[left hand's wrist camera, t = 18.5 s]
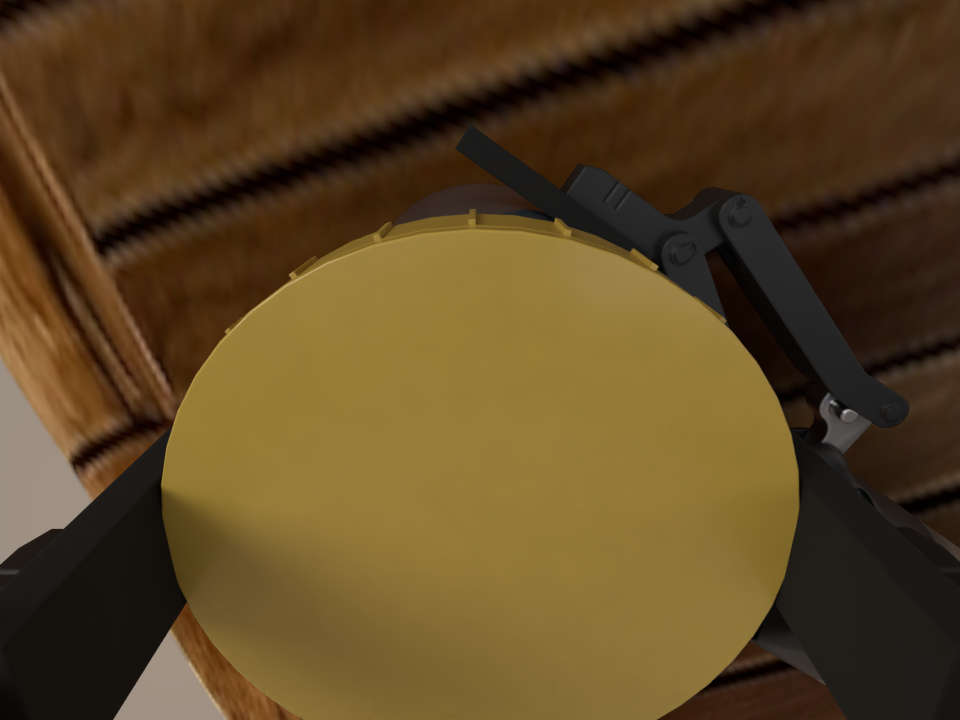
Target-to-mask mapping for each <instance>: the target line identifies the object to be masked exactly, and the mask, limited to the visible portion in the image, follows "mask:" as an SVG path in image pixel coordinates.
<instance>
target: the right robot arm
mask: <svg viewBox="0 0 960 720" xmlns="http://www.w3.org/2000/svg"><path fill="white" fill-rule="evenodd" d="M455 149H456V150H458V151H459V152H461V153H462V154H463V155H465V156H466V157H468V158H469V159H470V160H472V161H473V162H475V163H476V164H478V165H479V166H480V167H482V168H483V169H485V170H486V171H487V172H489V173H490V174H492V175H493V176H494V177H496V178H497V179H499V180H500V181H501V182H503V183H504V184H506V185H507V186H508V187H510V188H511V189H513V190H514V191H515V192H517V193H518V194H520V195H521V196H522V197H524V198H525V199H527V200H528V201H529V202H531V203H532V204H534V205H535V206H536V207H538V208H539V209H541V210H542V211H543V212H545V213H546V214H548V215H549V216H551V217H552V218H553V219H555V218H558V219H561V220H562V221H563V222H564V223H565V224H566V225H567V226H568V227H571V228H574V229H577V230H580V231H584V232H587V233H590V234H593V235H596V236H598V237H600V238H602V239H604V240H606V241H608V242H610V243H613V244H615V245H617V246H619V247H621V248H623V249H625V250H627V251H629V252H631V251H632V249H633V248H634V249H635V250H637V251H639V252H640V253H641V254H643V255H644V256H645V257H647V258H648V259H649V260H651V261H652V262H653V263H655V264H656V265H657V266H659V267H658V269H657V270H658V271H660V272H661V273H663V274H664V275H666V276H667V277H668V278H670V279H671V280H672V281H674V282H675V283H676V284H677V285H679V286H680V287H681V288H683V289H684V290H685V291H687V292H688V293H689V294H691V295H692V296H693V297H695V296H696V297H697V298H698V299H700V300H701V301H702V302H704V303H705V304H706V305H708V306H709V307H710V308H712V309H713V310H714V311H716V312H717V313H718V314H720V315H721V316H722V317H724V319H725V320H726V317H725V314H724V311H723V308H722V305H721V302H720V299H719V296H718V293H717V290H716V288H715V285H714V282H713V279H712V276H711V273H710V270H709V267H708V264H707V261H706V258H705V254H706V253H708V252H709V251H711V250H712V249H714V248H715V250H716V251H717V253H718V254H719V256H720V257H721V259H722V260H723V261H724V263H725V264H726V266H727V267H728V269H729V270H730V272H731V273H732V275H733V276H734V278H735V279H736V281H737V282H738V284H739V285H740V287H741V288H742V290H743V291H744V293H745V294H746V296H747V297H748V299H749V300H750V302H751V303H752V305H753V306H754V308H755V309H756V311H757V312H758V314H759V315H760V316H761V318H762V319H763V321H764V322H765V324H766V325H767V327H768V328H769V330H770V331H771V333H772V334H773V336H774V337H775V339H776V340H777V342H778V343H779V345H780V346H781V348H782V349H783V351H784V352H785V354H786V355H787V357H788V358H789V359H790V361H791V362H792V363H793V364H794V366H795V367H796V368H797V369H798V370H799V371H800V372H801V373H802V374H804V375H805V376H806V377H808V378H809V379H810V380H812V381H810V382H809V383H807V385H806V386H805V392H806V394H807V396H806V402H807V405H808V406H809V407H810V408H811V409H812V411H813V413H814V422H813V425H812V426H811V427H810V429H809V428H802V427H797V428H791V429H792V430H793V431H794V432H795V433H796V434H797V435H798V436H800V437H801V438H802V439H803V440H804V441H805V442H806V443H807V444H808V445H809V446H810V447H811V448H812V449H813V450H814V451H815V452H816V453H817V454H819V455H820V456H821V457H822V458H823V459H824V460H825V461H826V462H827V463H828V464H829V465H830V466H831V467H832V468H833V469H834V470H835V471H836V472H837V473H839V474H840V475H841V476H842V477H843V478H844V479H845V480H846V481H847V482H848V483H849V484H850V485H851V486H852V487H853V488H854V489H855V490H856V491H858V492H859V493H860V494H861V495H862V496H863V497H864V498H865V499H866V500H867V501H868V502H869V503H870V504H871V505H872V506H873V507H874V508H875V509H876V510H878V511H879V512H880V513H881V514H882V515H883V516H884V517H885V518H886V519H887V520H888V521H889V522H890V523H891V524H892V525H893V526H894V527H910V528H912V529H914V530H915V531H917V532H919V533H921V534H922V535H924V536H926V537H928V538H929V539H931V540H933V541H934V542H936V543H938V544H940V545H941V546H943V547H944V548H945V549H946V550H948V551H949V552H950V553H951V554H952V555H953V556H954V557H955V558H957V559H958V560H959V561H960V548H959V547H957V546H956V545H954V544H953V543H952V542H950V541H949V540H947V539H946V538H944V537H943V536H942V535H940V534H939V533H937V532H936V531H934V530H933V529H931V528H930V527H928V526H927V525H926V524H924V523H922V522H920V521H919V520H918V519H917V518H916V517H914V516H913V515H912V514H910V513H909V512H908V511H906V510H905V509H903V508H902V507H901V506H899V505H898V504H896V503H895V502H893V501H892V500H890V499H889V498H888V497H886V496H885V495H883V494H882V493H880V492H879V491H877V490H876V489H874V488H873V487H872V486H870V485H869V484H867V483H866V482H864V481H863V480H861V479H860V478H859V477H857V476H856V475H854V474H853V473H851V472H850V470H849V467H848V463H847V460H846V458H845V456H844V455H843V454H844V453H845V452H846V451H847V449H848V448H849V447H850V446H851V445H852V444H853V443H854V442H855V441H856V440H857V439H858V438H859V437H860V435H861V434H862V433H863V432H864V431H865V430H866V429H867V428H868V427H869V426H870V425H871V424H872V423H873V424H875V425H877V426H879V427H882V428H891V427H893V426H896V425H898V424H899V423H901V422H902V421H903V420H904V419H905V418H906V416H907V415H908V411H909V404H908V401H907V400H906V399H905V398H904V397H902V396H901V395H899V394H898V393H896V392H894V391H893V390H891V389H890V388H888V387H887V386H885V385H884V384H882V383H880V382H879V381H877V380H876V379H874V378H873V377H871V376H870V375H868V374H866V373H865V371H864V370H863V368H862V366H861V365H860V363H859V362H858V360H857V358H856V357H855V355H854V354H853V352H852V350H851V349H850V347H849V346H848V344H847V342H846V341H845V339H844V338H843V336H842V335H841V333H840V331H839V330H838V328H837V327H836V325H835V323H834V322H833V320H832V319H831V317H830V315H829V314H828V312H827V311H826V309H825V308H824V306H823V304H822V303H821V301H820V300H819V298H818V296H817V295H816V293H815V292H814V290H813V288H812V287H811V285H810V284H809V282H808V280H807V279H806V277H805V276H804V274H803V273H802V271H801V269H800V268H799V266H798V265H797V263H796V261H795V260H794V258H793V257H792V255H791V253H790V252H789V250H788V249H787V247H786V246H785V244H784V242H783V241H782V239H781V238H780V236H779V234H778V233H777V231H776V230H775V228H774V226H773V225H772V223H771V222H770V220H769V218H768V217H767V215H766V214H765V212H764V211H763V209H762V207H761V206H760V204H759V203H758V201H757V200H756V199H755V198H754V197H752V196H749V195H746V194H742V193H738V192H734V191H730V190H725V189H720V188H716V187H710V188H706V189H704V190H702V191H700V192H699V193H698V194H697V195H696V196H695V198H694V200H693V202H691V203H690V204H688V205H687V206H685V207H684V208H682V209H681V210H679V211H677V212H675V213H672V214H662V213H661V212H659V211H658V210H657V209H655V208H654V207H653V206H651V205H650V204H649V203H647V202H646V201H645V200H643V199H642V198H641V197H639V196H638V195H637V194H635V193H634V192H633V191H631V190H630V189H629V188H627V187H626V186H625V185H623V184H622V183H621V182H619V181H618V180H617V179H615V178H614V177H613V176H611V175H610V174H609V173H607V172H606V171H605V170H602V169H599V168H595V167H591V166H587V165H583V164H578V165H577V166H576V168H575V169H574V170H573V172H572V173H571V175H570V176H569V178H568V179H567V180H566V182H565V183H564V185H563V186H562V188H561V189H558V188H557V187H556V186H554V185H553V184H552V183H550V182H549V181H547V180H546V179H545V178H543V177H542V176H541V175H539V174H538V173H536V172H535V171H534V170H532V169H531V168H530V167H528V166H527V165H525V164H524V163H523V162H521V161H520V160H518V159H517V158H516V157H514V156H513V155H512V154H510V153H509V152H507V151H506V150H505V149H503V148H502V147H501V146H499V145H498V144H496V143H495V142H494V141H492V140H491V139H490V138H488V137H487V136H485V135H484V134H483V133H481V132H480V131H479V130H477V129H476V128H474V127H473V126H472V125H470V126H469V127H468V129H467V131H466V132H465V134H464V135H463V137H462V139H461V140H460V142H459V143H458V145H457V147H456V148H455ZM724 324H725V325H726V326H727V327H728V328H729V326H728V323H727V320H726V322H725V323H724ZM729 329H730V328H729ZM750 641H751V642H752V643H754V644H756V645H757V646H759V647H761V648H763V649H764V650H766V651H768V652H769V653H771V654H773V655H775V656H776V657H778V658H780V659H782V660H783V661H785V662H787V663H788V664H790V665H792V666H794V667H795V668H797V669H799V670H800V671H802V672H804V673H806V674H808V675H810V676H812V677H814V678H816V679H817V680H818V681H820V682H822V683H823V684H825V683H824V681H823V680H822V678H821V677H820V675H819V673H818V672H817V670H816V669H815V667H814V665H813V664H812V662H811V661H810V659H809V657H808V656H807V654H806V653H805V651H804V649H803V648H802V646H801V645H800V643H799V641H798V640H797V638H796V637H795V635H794V633H793V632H792V630H791V629H790V627H789V625H788V624H787V622H786V621H785V619H784V617H783V616H782V614H781V613H780V611H779V610H778V608H777V606H776V605H775V603H773V605H772V607H771V609H770V610H769V612H768V614H767V615H766V617H765V618H764V620H763V622H762V623H761V625H760V626H759V628H758V630H757V631H756V633H755V634H754V636H753V637H752V638H751V639H750Z"/></svg>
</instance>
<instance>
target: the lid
mask: <svg viewBox="0 0 960 720" xmlns="http://www.w3.org/2000/svg"><path fill="white" fill-rule="evenodd" d="M658 267H659V266H657V265H656V264H655V263H653V262H652V261H651V260H649V259H648V258H647V257H645V256H644V255H643V254H641V253H640V252H639V251H637V250H635V249H634V248H633V249H632V251H631V252H629V251H627V250H625V249H623V248H621V247H619V246H617V245H615V244H613V243H610V242H608V241H606V240H604V239H602V238H600V237H598V236H596V235H593V234H590V233H587V232H584V231H580V230H577V229H574V228H571V227H568V226H567V225H566V224H565V223H564V222H563V221H562V220H561V219H558V218H555V221H554V222H549V221H544V220H538V219H533V218H527V217H521V216H516V215H494V214H476V209H470V212H469V214H463V215H452V216H441V217H430V218H426V219H422V220H417V221H413V222H409V223H404V224H400V225H396V226H392V223H391V222H388V223H386V224H385V225H384V226H382V227H381V228H380V229H379V230H378V231H377V232H375V233H372V234H370V235H367V236H364V237H362V238H359V239H356V240H354V241H351V242H349V243H348V244H346V245H344V246H342V247H340V248H338V249H337V250H335V251H333V252H331V253H329V254H327V255H326V256H324V257H322V258H320V259H318V258H317V257H316V256H314V257H313V258H311V259H310V260H308V261H307V262H306V263H304V264H303V265H302V266H300V267H299V268H297V269H296V270H295V271H293V272H292V273H291V274H289V276H290V277H291V280H290V281H288V282H287V283H286V284H284V285H283V286H282V287H281V288H279V289H278V290H277V291H275V292H274V293H273V294H271V295H270V296H269V297H268V298H266V299H265V300H264V301H262V302H261V303H260V304H259V305H257V306H256V307H255V308H253V309H252V310H251V311H250V312H248V313H247V314H246V315H244V316H243V317H242V318H240V319H239V320H238V321H237V322H235V323H234V324H233V325H231V326H230V327H229V328H228V329H227V330H226V331H225V333H226V334H227V335H226V336H225V337H224V338H223V339H222V340H221V341H220V342H219V343H218V345H217V346H216V348H215V349H214V350H213V352H212V353H211V355H210V356H209V357H208V359H207V360H206V362H205V363H204V364H203V366H202V367H201V368H200V370H199V371H198V373H197V374H196V375H195V377H194V379H193V381H192V383H191V385H190V387H189V389H188V391H187V393H186V395H185V397H184V399H183V401H182V403H181V405H180V407H179V409H178V412H177V415H176V418H175V421H174V425H173V428H172V431H171V434H170V437H169V441H168V444H167V447H166V454H165V461H164V468H163V476H162V483H161V493H162V516H163V522H164V526H165V531H166V535H167V540H168V544H169V548H170V553H171V557H172V562H173V566H174V570H175V574H176V578H177V581H178V584H179V587H180V589H181V591H182V593H183V595H184V597H185V599H186V601H187V603H188V605H189V607H190V609H191V611H192V613H193V615H194V616H195V618H196V619H197V621H198V622H199V624H200V625H201V627H202V628H203V630H204V631H205V632H206V634H207V635H208V637H209V638H210V640H211V641H212V643H213V644H214V645H215V646H216V647H217V649H218V650H219V651H220V652H221V653H222V654H223V655H224V656H225V658H226V659H227V660H228V661H229V662H230V663H231V664H232V665H233V666H234V668H235V669H236V670H237V671H238V672H240V673H241V674H242V675H243V676H244V677H245V678H246V679H248V680H249V681H250V682H251V683H252V684H253V685H254V686H255V687H257V688H258V689H259V690H260V691H261V692H262V693H264V694H265V695H267V696H268V697H270V698H271V699H272V700H274V701H275V702H277V703H278V704H280V705H281V706H282V707H284V708H285V709H287V710H288V711H290V712H291V713H293V714H295V715H297V716H299V717H300V718H302V719H304V720H657V719H659V718H660V717H662V716H664V715H665V714H667V713H669V712H670V711H672V710H674V709H675V708H677V707H679V706H680V705H682V704H683V703H684V702H686V701H687V700H688V699H690V698H691V697H692V696H694V695H695V694H696V693H698V692H699V691H700V690H702V689H703V688H704V687H706V686H707V685H708V684H709V683H710V682H711V681H712V680H713V679H714V678H716V677H717V676H718V675H719V674H720V673H721V672H722V671H723V670H724V669H725V668H726V667H727V666H728V665H729V664H730V663H731V662H732V661H733V660H734V659H735V658H736V656H737V655H738V654H739V653H740V652H741V650H742V649H743V648H744V647H745V645H746V644H747V643H748V642H749V641H750V639H751V638H752V637H753V636H754V634H755V633H756V631H757V630H758V628H759V626H760V625H761V623H762V622H763V620H764V618H765V617H766V615H767V614H768V612H769V610H770V609H771V607H772V605H773V603H774V601H775V599H776V597H777V594H778V592H779V590H780V588H781V585H782V583H783V580H784V577H785V573H786V568H787V564H788V559H789V555H790V551H791V546H792V542H793V538H794V533H795V529H796V524H797V519H798V514H799V509H800V497H799V471H798V465H797V460H796V455H795V450H794V445H793V440H792V435H791V432H790V429H789V427H788V424H787V421H786V419H785V416H784V413H783V411H782V408H781V405H780V403H779V400H778V398H777V396H776V394H775V392H774V391H773V389H772V387H771V385H770V384H769V382H768V380H767V378H766V377H765V375H764V373H763V371H762V370H761V368H760V366H759V364H758V363H757V362H756V360H755V359H754V358H753V357H752V355H751V354H750V353H749V352H748V350H747V349H746V348H745V347H744V345H743V344H742V343H741V342H740V340H739V339H738V338H737V337H736V335H735V334H734V333H733V332H732V331H731V330H730V329H729V328H728V327H727V326H726V325H725V324H724V323H725V322H726V320H725V319H724V317H722V316H721V315H720V314H718V313H717V312H716V311H714V310H713V309H712V308H710V307H709V306H708V305H706V304H705V303H704V302H702V301H701V300H700V299H698V298H697V297H696V296H695V297H693V296H692V295H691V294H689V293H688V292H687V291H685V290H684V289H683V288H681V287H680V286H679V285H677V284H676V283H675V282H674V281H672V280H671V279H670V278H668V277H667V276H666V275H664V274H663V273H661V272H660V271H658V270H657V269H658Z"/></svg>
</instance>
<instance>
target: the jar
mask: <svg viewBox="0 0 960 720" xmlns="http://www.w3.org/2000/svg"><path fill="white" fill-rule="evenodd" d="M470 209H476V214H494V215H516V216H521V217H527V218H533V219H538V220H544V221H549V222H554V221H555V219H553V218H552V217H551V216H549V215H548V214H546V213H545V212H543V211H542V210H541V209H539V208H538V207H536V206H535V205H534V204H532V203H531V202H529V201H528V200H527V199H525V198H524V197H522V196H521V195H520V194H518V193H517V192H515V191H514V190H513V189H511V188H510V187H505V186H500V185H494V184H468V185H460V186H456V187H451V188H447V189H444V190H441V191H438V192H436V193H433V194H431V195H429V196H427V197H425V198H423V199H421V200H420V201H418V202H416V203H415V204H414V205H412V206H411V207H409V208H408V209H407V210H405V211H404V212H403V213H402V214H401V215H400V216H399V217H398V218H397V219H396V220H395V221H394V222H393V223H392V226H396V225H400V224H404V223H409V222H413V221H417V220H422V219H426V218H430V217H441V216H452V215H463V214H469V212H470Z"/></svg>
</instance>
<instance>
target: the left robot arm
mask: <svg viewBox="0 0 960 720" xmlns="http://www.w3.org/2000/svg"><path fill="white" fill-rule="evenodd" d="M788 427H789V426H788ZM172 428H173V426H172V427H171V428H170V429H169V430H167V431H166V432H165V433H164V434H163V435H162V436H161V437H160V438H159V439H158V440H157V441H156V442H155V443H154V444H153V445H152V446H151V447H150V448H149V449H147V450H146V451H145V452H144V453H143V454H142V455H141V456H140V457H139V458H138V459H137V460H136V461H135V462H134V463H133V464H132V465H131V466H130V467H128V468H127V469H126V470H125V471H124V472H123V473H122V474H121V475H120V476H119V477H118V478H117V479H116V480H115V481H114V482H113V483H112V484H111V485H110V486H108V487H107V488H106V489H105V490H104V491H103V492H102V493H101V494H100V495H99V496H98V497H97V498H96V499H95V500H94V501H93V502H92V503H91V504H89V505H88V506H87V507H86V508H85V509H84V510H83V511H82V512H81V513H80V514H79V515H78V516H77V517H76V518H75V519H74V520H73V521H72V522H71V523H69V524H68V525H67V526H66V527H65V528H64V529H51V530H49V531H48V532H46V533H44V534H42V535H41V536H39V537H37V538H36V539H34V540H32V541H30V542H29V543H27V544H25V545H23V546H22V547H20V548H18V549H17V550H16V551H15V552H14V553H13V554H12V555H11V556H10V557H8V558H7V559H6V560H5V561H4V562H3V563H2V564H1V565H0V720H113V719H114V718H115V716H116V714H117V713H118V711H119V710H120V708H121V706H122V705H123V703H124V701H125V700H126V698H127V697H128V695H129V694H130V692H131V690H132V689H133V687H134V686H135V684H136V682H137V681H138V679H139V678H140V676H141V674H142V673H143V671H144V670H145V668H146V666H147V665H148V663H149V662H150V660H151V658H152V657H153V655H154V654H155V652H156V650H157V649H158V647H159V646H160V644H161V642H162V641H163V639H164V638H165V636H166V634H167V633H168V631H169V630H170V628H171V627H172V625H173V623H174V622H175V620H176V619H177V617H178V615H179V614H180V612H181V611H182V609H183V607H184V606H185V604H186V603H187V601H186V599H185V597H184V595H183V593H182V591H181V589H180V587H179V584H178V581H177V578H176V574H175V570H174V566H173V562H172V557H171V553H170V548H169V544H168V540H167V535H166V531H165V526H164V522H163V516H162V493H161V483H162V476H163V468H164V461H165V454H166V447H167V444H168V441H169V437H170V434H171V431H172ZM789 429H790V432H791V435H792V440H793V445H794V450H795V455H796V460H797V465H798V471H799V497H800V509H799V514H798V519H797V524H796V529H795V533H794V538H793V542H792V546H791V551H790V555H789V559H788V564H787V568H786V573H785V577H784V580H783V583H782V585H781V588H780V590H779V592H778V594H777V597H776V599H775V601H774V603H775V605H776V606H777V608H778V610H779V611H780V613H781V614H782V616H783V617H784V619H785V621H786V622H787V624H788V625H789V627H790V629H791V630H792V632H793V633H794V635H795V637H796V638H797V640H798V641H799V643H800V645H801V646H802V648H803V649H804V651H805V653H806V654H807V656H808V657H809V659H810V661H811V662H812V664H813V665H814V667H815V669H816V670H817V672H818V673H819V675H820V677H821V678H822V680H823V681H824V683H825V685H826V686H827V688H828V689H829V691H830V693H831V694H832V696H833V697H834V699H835V701H836V702H837V704H838V705H839V707H840V709H841V710H842V712H843V713H844V715H845V716H846V718H847V720H960V561H959V560H958V559H957V558H955V557H954V556H953V555H952V554H951V553H950V552H949V551H948V550H946V549H945V548H944V547H943V546H941V545H940V544H938V543H936V542H934V541H933V540H931V539H929V538H928V537H926V536H924V535H922V534H921V533H919V532H917V531H915V530H914V529H912V528H910V527H894V526H893V525H892V524H891V523H890V522H889V521H888V520H887V519H886V518H885V517H884V516H883V515H882V514H881V513H880V512H879V511H878V510H876V509H875V508H874V507H873V506H872V505H871V504H870V503H869V502H868V501H867V500H866V499H865V498H864V497H863V496H862V495H861V494H860V493H859V492H858V491H856V490H855V489H854V488H853V487H852V486H851V485H850V484H849V483H848V482H847V481H846V480H845V479H844V478H843V477H842V476H841V475H840V474H839V473H837V472H836V471H835V470H834V469H833V468H832V467H831V466H830V465H829V464H828V463H827V462H826V461H825V460H824V459H823V458H822V457H821V456H820V455H819V454H817V453H816V452H815V451H814V450H813V449H812V448H811V447H810V446H809V445H808V444H807V443H806V442H805V441H804V440H803V439H802V438H801V437H800V436H798V435H797V434H796V433H795V432H794V431H793V430H792V429H791V428H790V427H789Z"/></svg>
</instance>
